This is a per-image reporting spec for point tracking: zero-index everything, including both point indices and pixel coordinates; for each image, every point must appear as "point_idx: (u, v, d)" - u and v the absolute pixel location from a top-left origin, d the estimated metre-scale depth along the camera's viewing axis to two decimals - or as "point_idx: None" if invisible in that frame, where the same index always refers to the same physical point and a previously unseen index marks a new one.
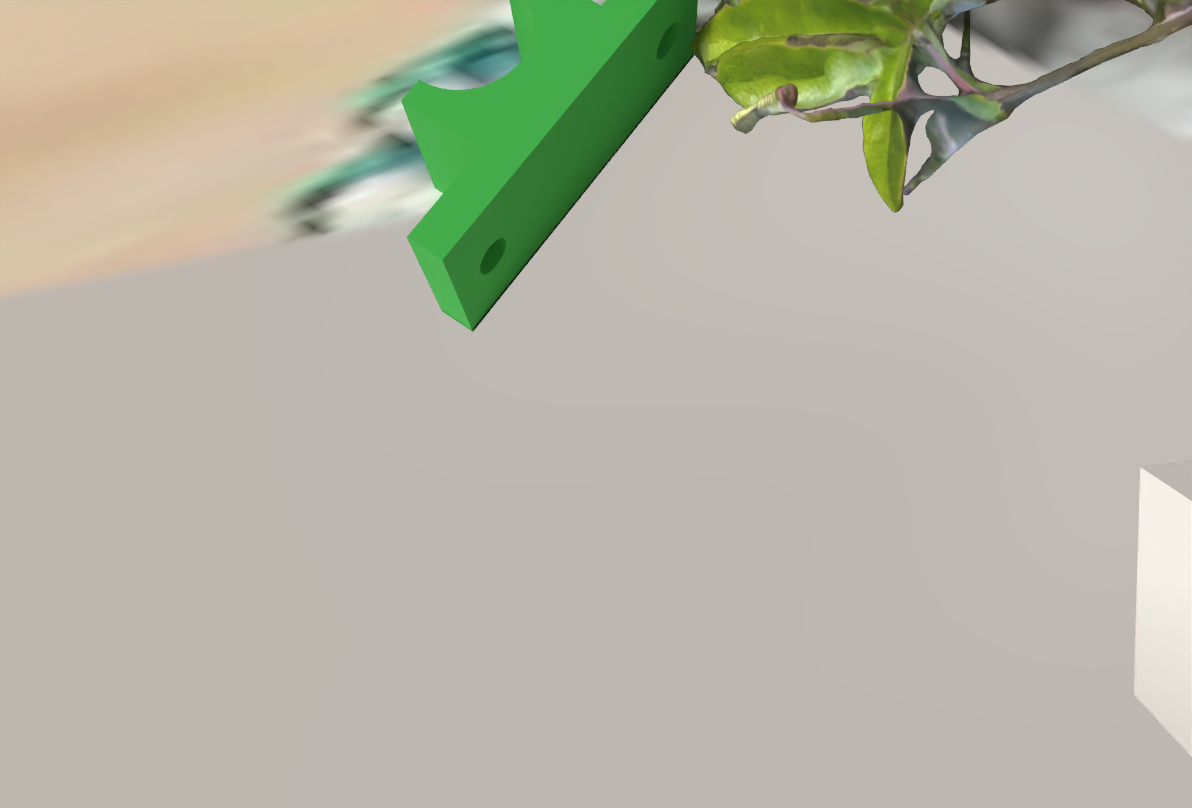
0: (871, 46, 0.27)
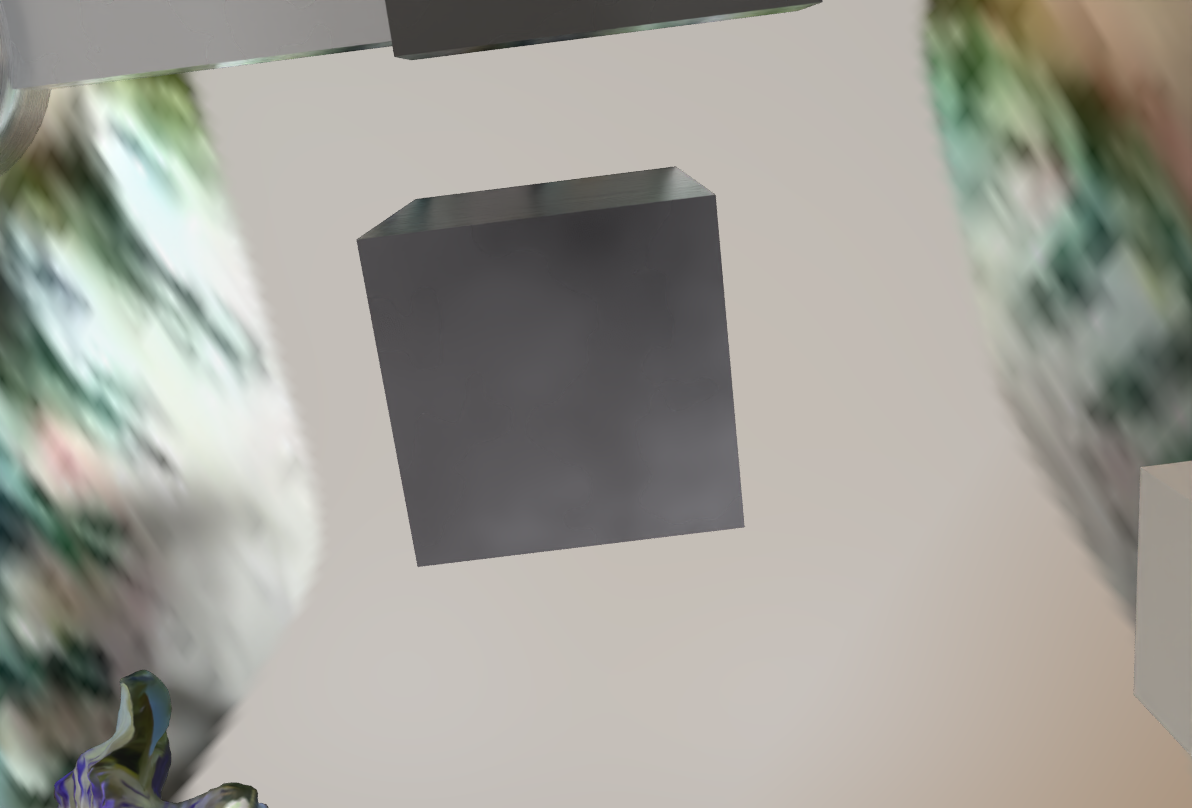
0: None
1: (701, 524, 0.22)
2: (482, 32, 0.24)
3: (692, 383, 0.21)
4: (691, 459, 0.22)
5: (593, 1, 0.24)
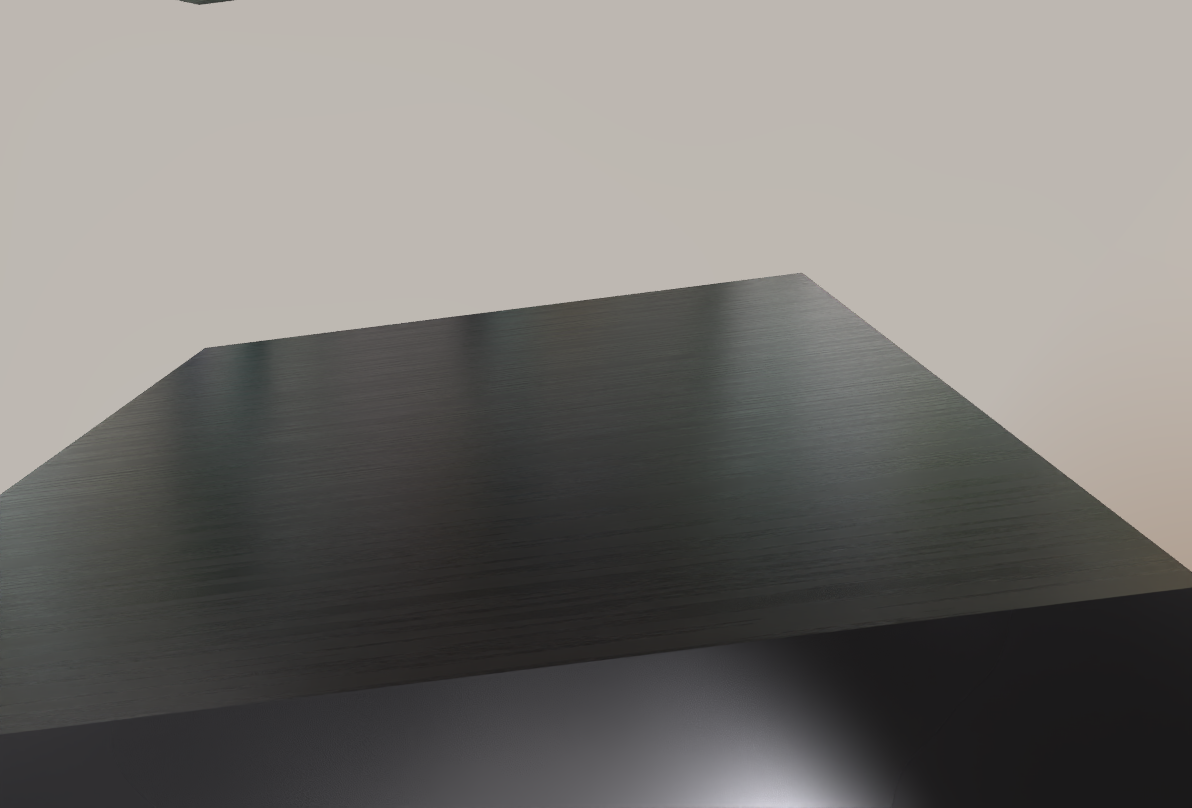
0: None
1: None
2: None
3: None
4: None
5: None
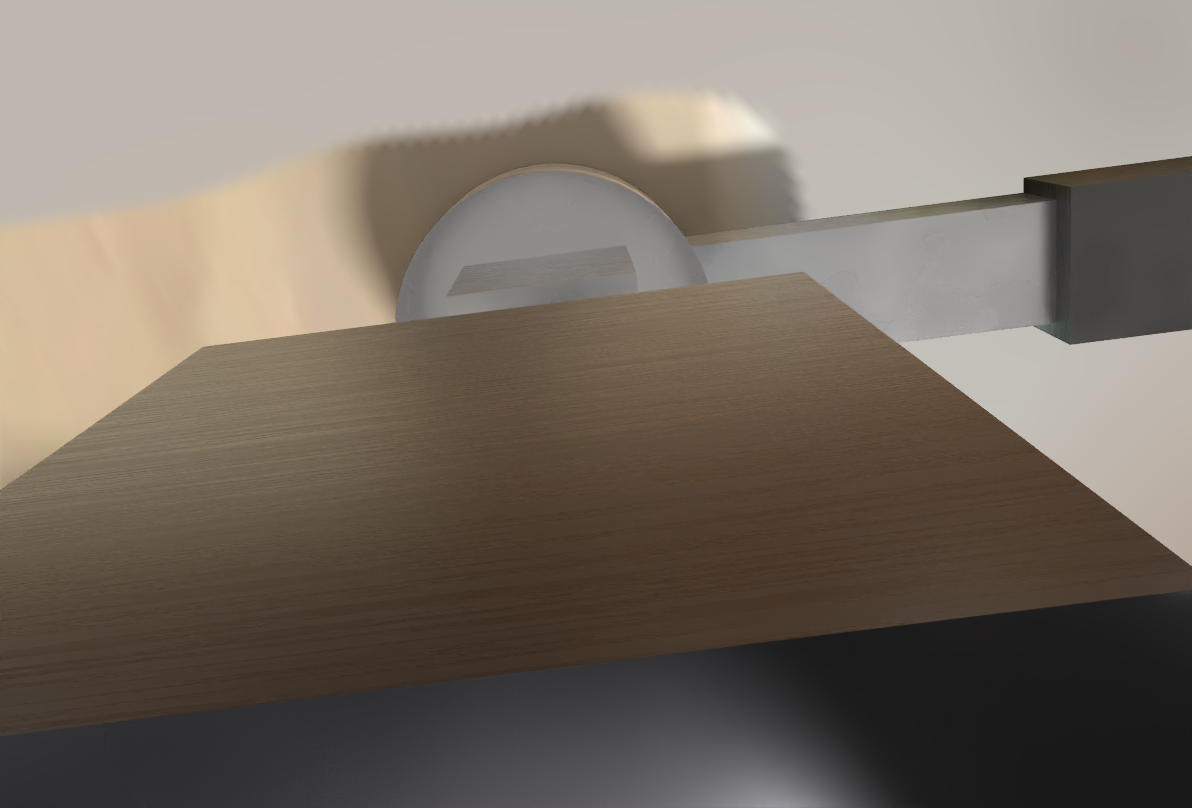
0: None
1: None
2: (1153, 323, 0.27)
3: None
4: None
5: None
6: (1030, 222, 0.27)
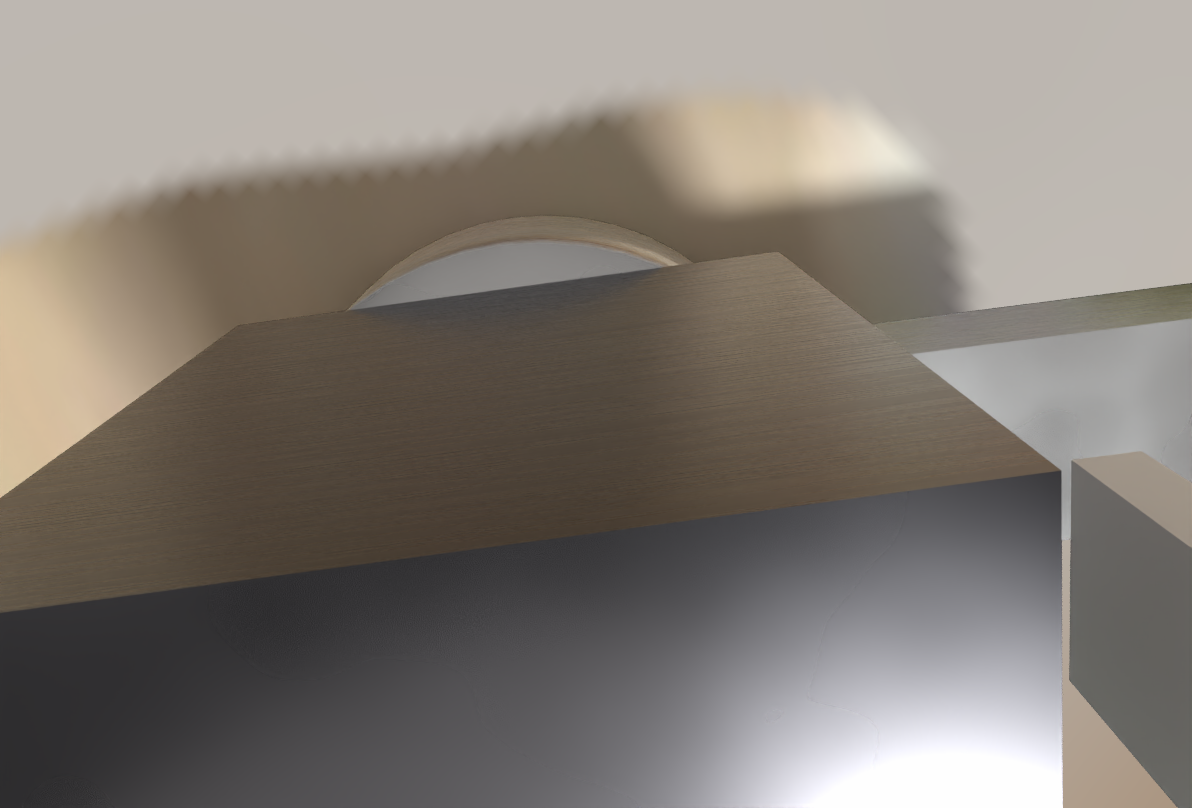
0: None
1: None
2: None
3: None
4: None
5: None
6: None
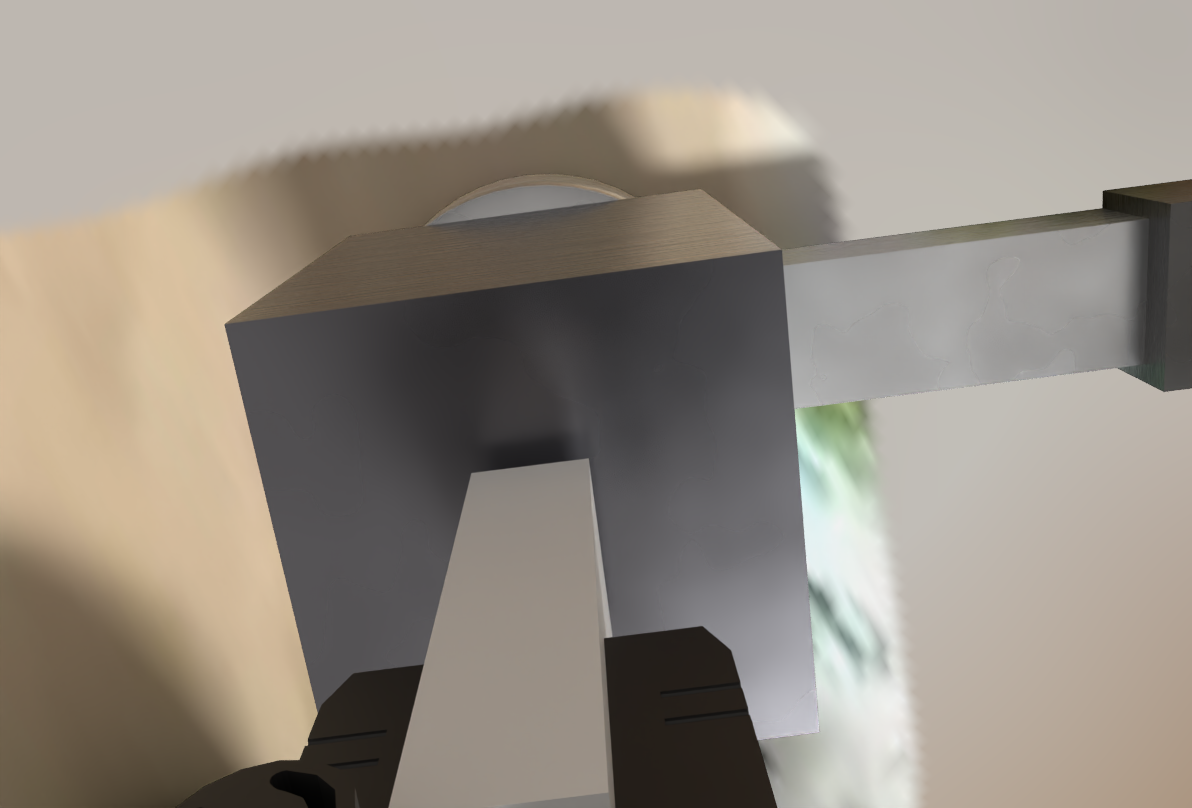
0: None
1: (756, 729, 0.15)
2: None
3: (744, 530, 0.14)
4: (742, 639, 0.15)
5: None
6: (1117, 245, 0.22)
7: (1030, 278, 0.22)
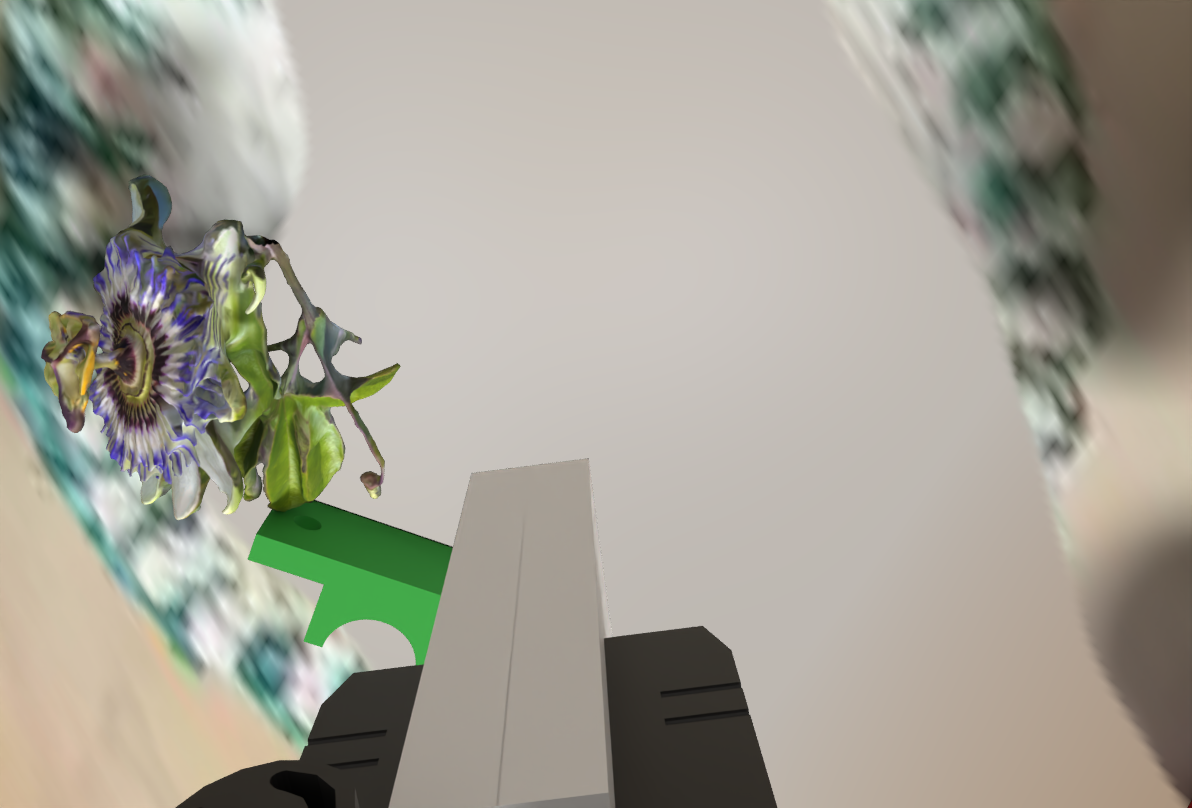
0: (303, 421, 0.38)
1: None
2: None
3: None
4: None
5: None
6: None
7: None
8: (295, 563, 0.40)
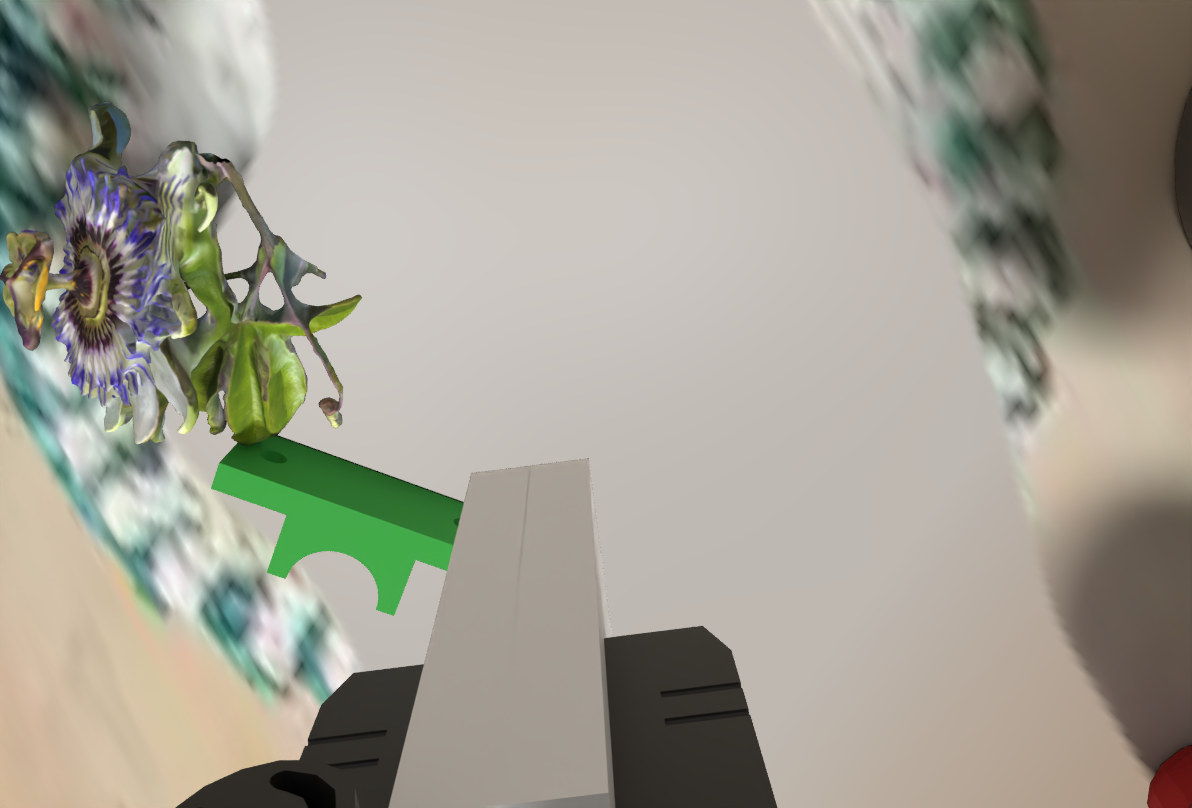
0: (263, 348, 0.38)
1: None
2: None
3: None
4: None
5: None
6: None
7: None
8: (258, 493, 0.40)
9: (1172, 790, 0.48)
